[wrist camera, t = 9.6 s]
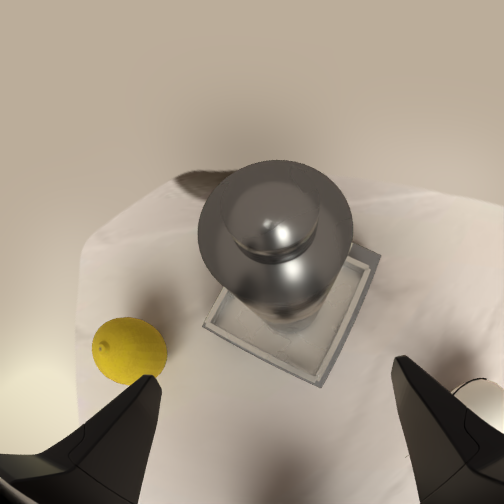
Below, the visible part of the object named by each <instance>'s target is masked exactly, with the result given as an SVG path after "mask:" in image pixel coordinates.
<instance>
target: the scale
mask: <svg viewBox="0 0 504 504" xmlns="http://www.w3.org/2000/svg"><path fill="white" fill-rule="evenodd" d="M380 258H381V255H379V254H377V253H375V252H373V251H371V250H368V249H366V248H364V247H362V246H360V245H357V244H355V243H353V242H352V244H351V247H350V250H349V254H348V256H347V258H346V260H345V262H344V264H343V266H342V268H341V270H340V272H339V274H338V276H337V278H336V280H335V282H334V284H333V286H332V288H331V290H330V292H329V294H328V296H327V298H326V300H325V302H324V304H323V306H322V307H321V309H320V311H319V313H318V315H317V317H316V318H315V320H314V321H313V322H312V323H311V324H310V325H309V326H308V327H307V328H305V329H303V330H301V331H298V332H294V333H284V332H280V331H277V330H275V329H273V328H272V327H270V326H269V325H268V324H267V323H265V322H264V321H263V320H262V319H261V318H260V317H258V316H257V315H256V314H255V313H254V312H252V311H251V310H250V309H249V308H248V307H247V306H245V305H244V304H243V303H242V302H241V301H240V300H239V299H237V298H236V297H235V296H234V295H233V294H232V293H231V292H229V291H228V290H227V289H226V288H225V287H223V289H222V290H221V292H220V294H219V296H218V298H217V300H216V301H215V303H214V305H213V307H212V309H211V310H210V312H209V314H208V316H207V318H206V319H205V321H204V324H203V326H202V327H204V328H205V329H207V330H209V331H210V332H212V333H214V334H216V335H217V336H219V337H221V338H223V339H224V340H226V341H228V342H230V343H232V344H233V345H235V346H237V347H239V348H241V349H243V350H244V351H246V352H248V353H250V354H252V355H254V356H256V357H258V358H259V359H261V360H263V361H265V362H267V363H269V364H271V365H273V366H275V367H277V368H279V369H281V370H283V371H285V372H287V373H289V374H291V375H293V376H295V377H297V378H300V379H302V380H304V381H306V382H308V383H310V384H312V385H315V386H317V387H319V388H322V386H323V384H324V383H325V381H326V379H327V377H328V375H329V373H330V371H331V369H332V367H333V365H334V364H335V362H336V360H337V358H338V356H339V354H340V352H341V350H342V348H343V345H344V343H345V341H346V339H347V337H348V335H349V333H350V331H351V328H352V326H353V324H354V322H355V320H356V317H357V315H358V313H359V310H360V308H361V306H362V303H363V301H364V299H365V296H366V294H367V291H368V289H369V286H370V284H371V281H372V279H373V276H374V274H375V271H376V268H377V266H378V263H379V260H380Z"/></svg>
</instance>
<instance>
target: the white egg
mask: <svg viewBox="0 0 504 504" xmlns="http://www.w3.org/2000/svg"><path fill="white" fill-rule="evenodd" d="M451 393H452V394H453V395H454V396H455V397H456V398H458V399H459V400H460V401H461V402H462V403H463V404H465V405H466V406H467V407H468V408H469V409H471V410H472V411H473V412H474V413H475V414H477V415H478V416H479V417H480V418H481V419H483V420H484V421H485V422H487V423H488V424H490V425H491V426H493V427H494V428H496V429H497V430H499V431H500V432H502V433H503V434H504V390H503V388H501V387H500V386H499V385H498V384H497V383H494V382H492V381H489V380H487V379H486V378H477V379H473V380H470V381H468V382H466V383H463V384H462V385H460V386H458V387H457V388H455V389H454V390H453V391H452V392H451ZM408 456H409V455H408ZM406 457H407V456H406ZM406 457H405V458H406Z"/></svg>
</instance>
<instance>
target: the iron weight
mask: <svg viewBox="0 0 504 504" xmlns="http://www.w3.org/2000/svg"><path fill="white" fill-rule="evenodd" d="M352 237H353V221H352V215H351V211H350V208H349V205H348V203H347V201H346V198H345V197H344V195H343V194H342V192H341V190H340V189H339V188H338V187H337V186H336V184H335V183H334V182H333V181H331V180H330V179H329V178H328V177H327V176H325V175H324V174H323V173H321V172H319V171H317V170H316V169H314V168H312V167H310V166H307V165H305V164H301V163H297V162H293V161H287V160H286V161H285V160H271V161H263V162H258V163H255V164H251V165H248V166H246V167H244V168H241V169H239V170H238V171H236V172H234V173H232V174H231V175H230V176H228V177H227V178H225V179H224V180H223V181H222V182H221V183H220V184H219V185H218V186H217V187H216V188H215V189H214V190H213V192H212V193H211V195H210V196H209V197H208V199H207V201H206V203H205V205H204V207H203V209H202V212H201V215H200V219H199V224H198V244H199V249H200V253H201V256H202V259H203V261H204V263H205V265H206V267H207V268H208V270H209V271H210V273H211V274H212V275H213V276H214V277H215V279H216V280H217V281H218V282H219V283H220V284H221V285H223V286H224V287H225V288H226V289H227V290H228V291H229V292H231V293H232V294H233V295H234V296H235V297H236V298H237V299H239V300H240V301H241V302H242V303H243V304H244V305H245V306H247V307H248V308H249V309H250V310H251V311H252V312H254V313H255V314H256V315H257V316H258V317H260V318H261V319H262V320H263V321H264V322H265V323H267V324H268V325H269V326H270V327H272V328H273V329H275V330H277V331H280V332H284V333H294V332H298V331H301V330H303V329H305V328H307V327H308V326H309V325H310V324H311V323H312V322H313V321H314V320H315V318H316V317H317V315H318V313H319V311H320V309H321V307H322V306H323V304H324V302H325V300H326V298H327V296H328V294H329V292H330V290H331V288H332V286H333V284H334V282H335V280H336V278H337V276H338V274H339V272H340V270H341V268H342V266H343V264H344V262H345V260H346V258H347V256H348V254H349V250H350V247H351V244H352Z"/></svg>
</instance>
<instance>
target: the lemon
mask: <svg viewBox="0 0 504 504" xmlns="http://www.w3.org/2000/svg"><path fill="white" fill-rule="evenodd" d="M92 354H93V358H94V361H95V363H96V365H97V367H98V368H99V370H100V371H101V372H102V373H103V374H104V375H105V376H106V377H107V378H109V379H111V380H113V381H115V382H117V383H120V384H125V385H131V384H133V383H134V382H135V381H136V380H137V379H139V378H140V377H141V376H142V375H144V374H148V375H153V376H154V377H155V378H156V377H157V376H158V375H159V374H160V373H161V372H162V370H163V368H164V367H165V364H166V360H167V349H166V344H165V342H164V339H163V337H162V336H161V334H160V333H159V332H158V331H157V330H156V329H155V328H154V327H153V326H152V325H150V324H149V323H147V322H145V321H143V320H140V319H136V318H131V317H124V318H116V319H112V320H110V321H108V322H106V323H104V324H103V325H102V326H101V327H100V328H99V329H98V331H97V332H96V334H95V336H94V338H93V343H92Z"/></svg>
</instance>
